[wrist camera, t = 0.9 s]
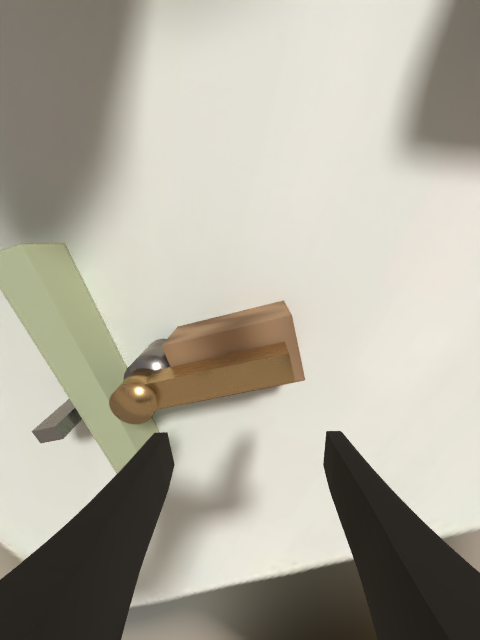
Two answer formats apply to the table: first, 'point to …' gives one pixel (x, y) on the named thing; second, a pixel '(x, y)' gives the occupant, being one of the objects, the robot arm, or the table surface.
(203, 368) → the latch bar
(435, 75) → the table surface
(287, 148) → the table surface
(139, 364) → the pivot post and stop
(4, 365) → the table surface
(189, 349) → the block
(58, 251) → the pale green bar
